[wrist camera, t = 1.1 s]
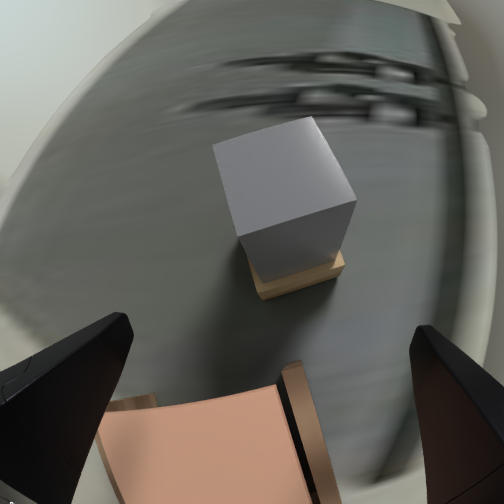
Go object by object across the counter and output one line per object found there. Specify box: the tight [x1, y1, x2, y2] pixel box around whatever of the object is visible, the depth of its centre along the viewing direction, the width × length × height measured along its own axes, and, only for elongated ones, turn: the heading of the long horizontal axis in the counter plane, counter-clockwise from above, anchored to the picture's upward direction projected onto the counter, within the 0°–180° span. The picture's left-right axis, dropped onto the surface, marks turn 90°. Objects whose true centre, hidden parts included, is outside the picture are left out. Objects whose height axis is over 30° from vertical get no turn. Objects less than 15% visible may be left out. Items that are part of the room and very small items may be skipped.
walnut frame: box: [95, 360, 342, 504], centre depth 14 cm, size 12×13×8 cm
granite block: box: [212, 117, 357, 283], centre depth 16 cm, size 5×5×8 cm
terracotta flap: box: [98, 384, 312, 504], centre depth 10 cm, size 10×10×1 cm
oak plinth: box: [246, 250, 345, 301], centre depth 21 cm, size 6×6×3 cm
